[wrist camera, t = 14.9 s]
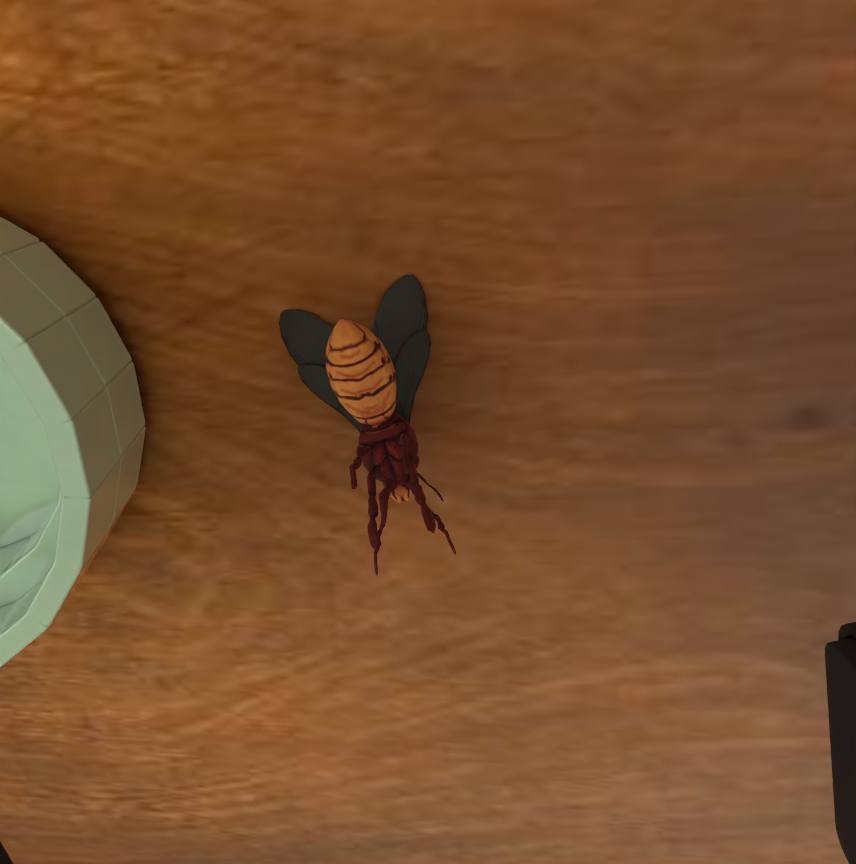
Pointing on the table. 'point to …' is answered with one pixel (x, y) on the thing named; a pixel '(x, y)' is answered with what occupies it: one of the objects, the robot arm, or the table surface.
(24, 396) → the bowl
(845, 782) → the robot arm
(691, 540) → the table surface
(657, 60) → the table surface
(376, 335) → the insect
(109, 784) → the table surface
